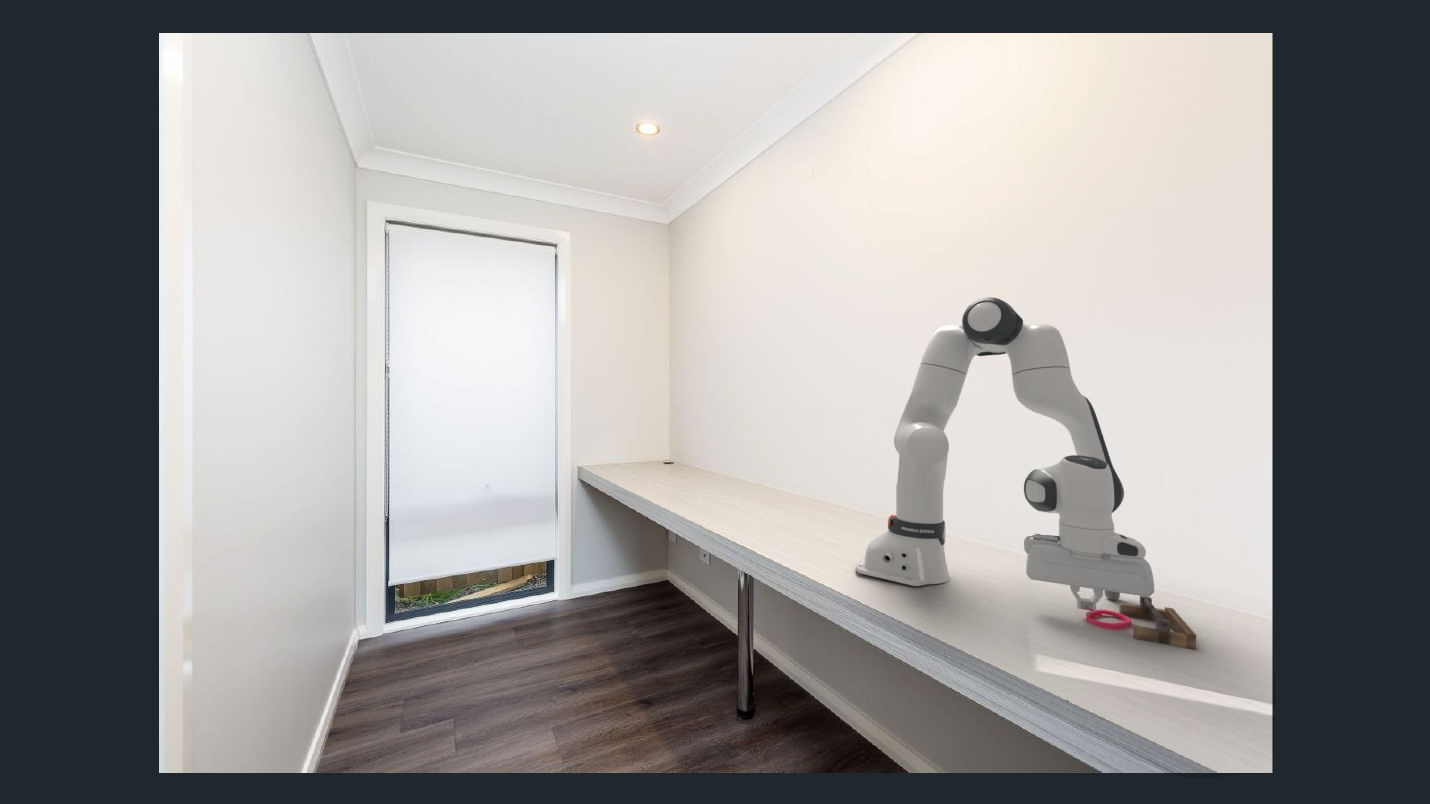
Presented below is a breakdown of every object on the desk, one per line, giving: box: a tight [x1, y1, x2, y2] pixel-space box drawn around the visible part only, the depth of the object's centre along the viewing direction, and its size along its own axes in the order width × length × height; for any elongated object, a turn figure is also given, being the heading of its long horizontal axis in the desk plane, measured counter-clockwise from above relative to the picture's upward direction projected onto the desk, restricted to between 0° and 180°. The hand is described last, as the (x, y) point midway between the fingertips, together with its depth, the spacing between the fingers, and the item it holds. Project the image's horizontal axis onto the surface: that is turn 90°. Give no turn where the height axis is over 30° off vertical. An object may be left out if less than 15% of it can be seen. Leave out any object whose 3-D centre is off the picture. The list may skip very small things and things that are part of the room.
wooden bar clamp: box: [1118, 596, 1197, 651], centre depth 93 cm, size 8×13×4 cm, turn 151°
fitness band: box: [1085, 609, 1132, 631], centre depth 97 cm, size 8×6×2 cm
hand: (1086, 609), depth 99 cm, fingers closed
